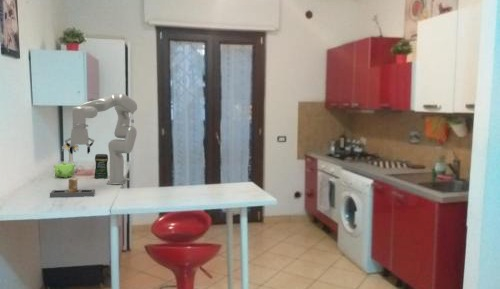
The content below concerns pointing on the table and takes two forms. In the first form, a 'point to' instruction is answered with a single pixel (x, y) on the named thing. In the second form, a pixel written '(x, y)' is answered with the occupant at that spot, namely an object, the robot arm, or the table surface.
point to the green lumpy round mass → (64, 170)
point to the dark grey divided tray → (72, 193)
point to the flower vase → (65, 147)
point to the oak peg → (72, 185)
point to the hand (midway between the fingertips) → (80, 153)
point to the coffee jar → (101, 166)
